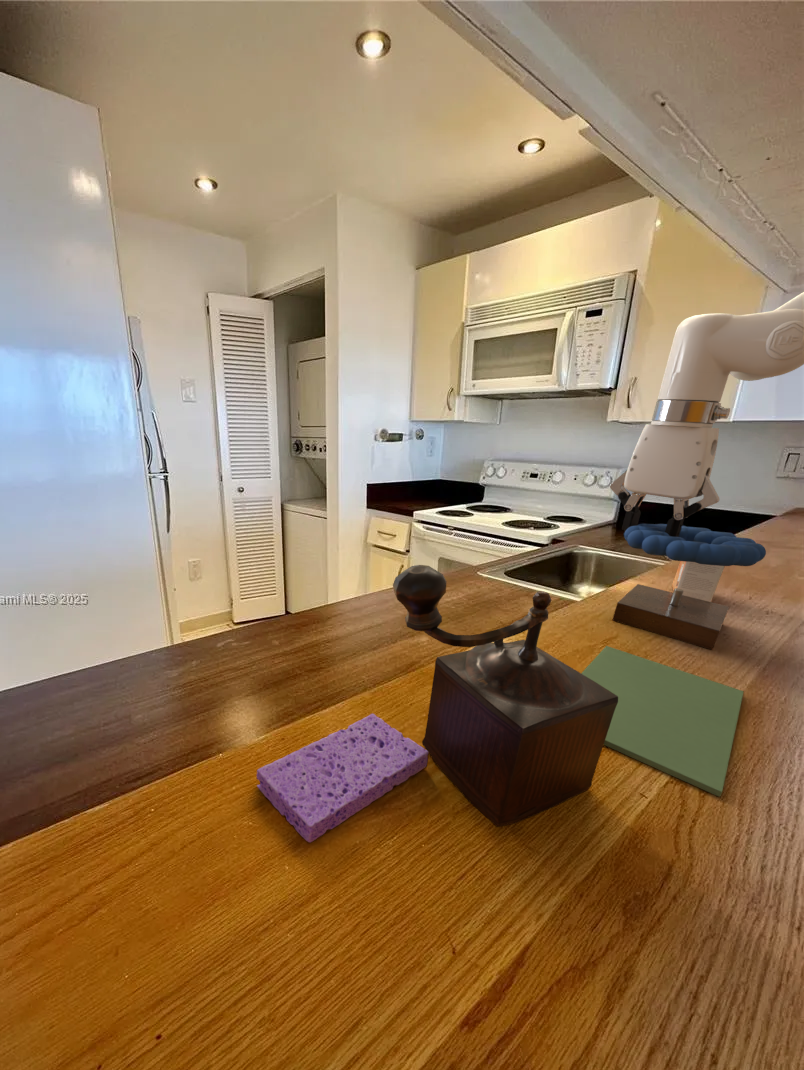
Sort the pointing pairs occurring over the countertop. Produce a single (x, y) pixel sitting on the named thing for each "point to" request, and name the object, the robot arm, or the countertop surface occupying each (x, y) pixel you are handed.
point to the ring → (695, 545)
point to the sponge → (339, 775)
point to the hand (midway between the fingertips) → (647, 538)
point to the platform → (672, 615)
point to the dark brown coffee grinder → (507, 710)
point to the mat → (669, 717)
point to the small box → (697, 579)
